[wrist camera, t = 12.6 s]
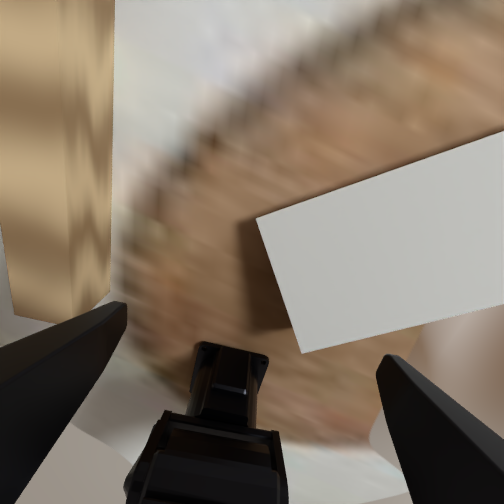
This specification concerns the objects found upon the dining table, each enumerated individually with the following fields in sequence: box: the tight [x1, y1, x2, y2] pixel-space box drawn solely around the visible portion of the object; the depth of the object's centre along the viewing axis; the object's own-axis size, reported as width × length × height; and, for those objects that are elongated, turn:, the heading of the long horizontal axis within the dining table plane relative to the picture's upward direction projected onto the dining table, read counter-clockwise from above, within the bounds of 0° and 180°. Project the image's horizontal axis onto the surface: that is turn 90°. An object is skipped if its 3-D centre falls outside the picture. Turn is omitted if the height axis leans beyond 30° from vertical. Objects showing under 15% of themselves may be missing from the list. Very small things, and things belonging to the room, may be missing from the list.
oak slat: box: [0, 0, 115, 324], centre depth 16 cm, size 26×4×5 cm, turn 167°
